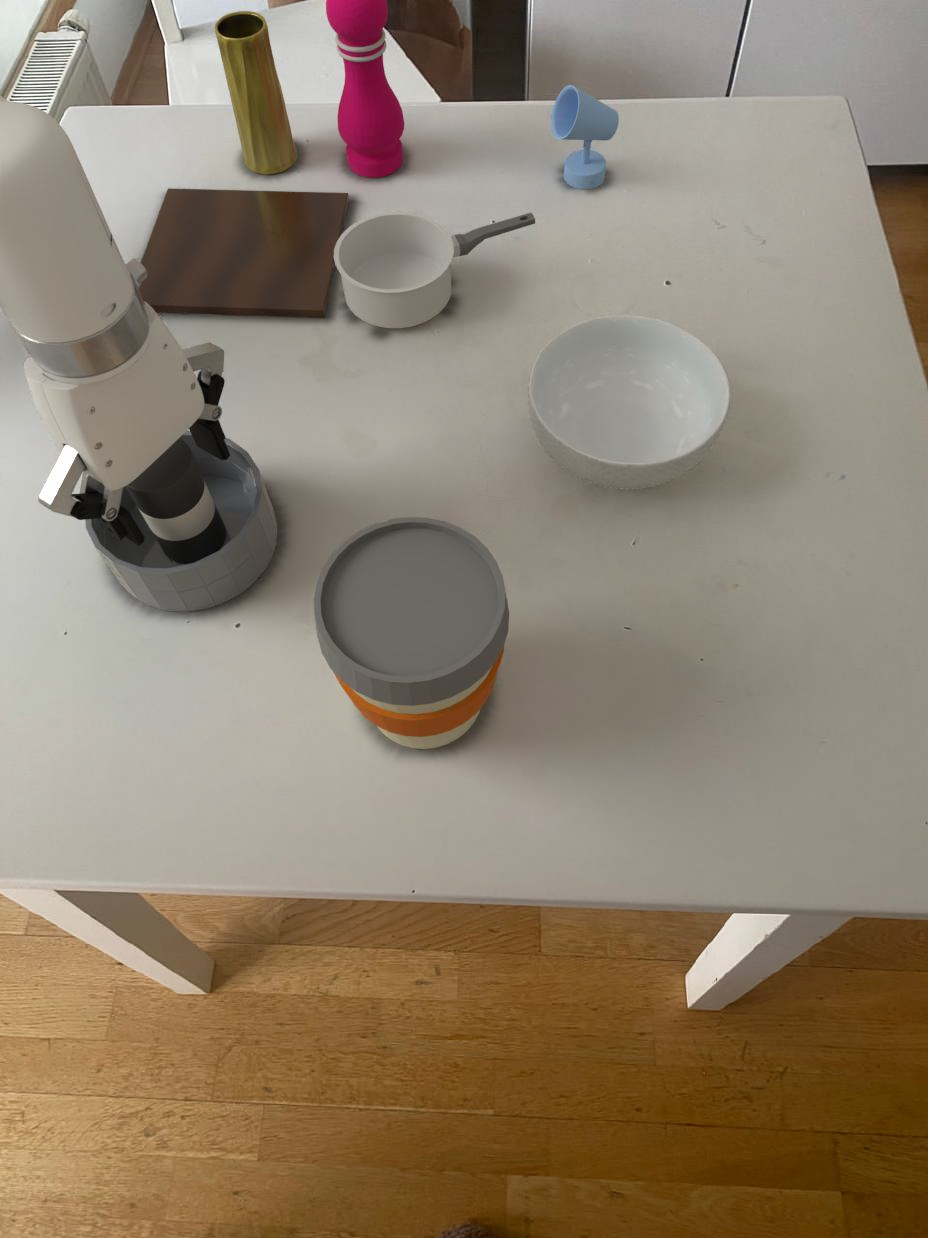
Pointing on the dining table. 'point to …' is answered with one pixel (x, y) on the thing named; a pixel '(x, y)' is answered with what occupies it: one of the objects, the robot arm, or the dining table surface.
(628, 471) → the cereal bowl
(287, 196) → the board
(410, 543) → the reusable coffee cup
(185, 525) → the dark grey banded canister
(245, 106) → the vase
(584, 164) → the spotlight
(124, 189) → the dining table surface
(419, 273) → the saucepan
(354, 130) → the pepper mill
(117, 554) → the grey pet bowl
